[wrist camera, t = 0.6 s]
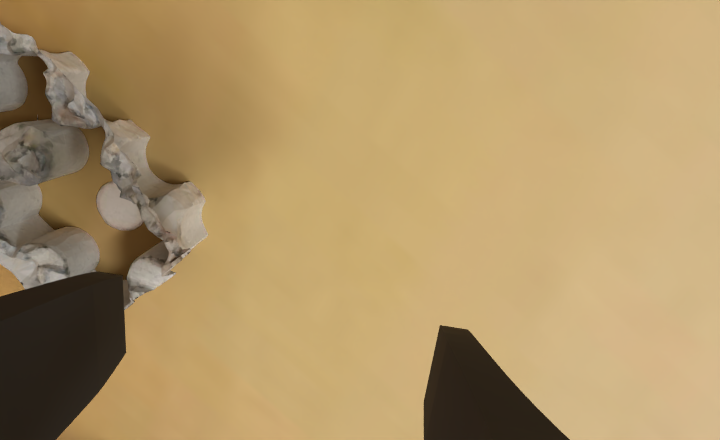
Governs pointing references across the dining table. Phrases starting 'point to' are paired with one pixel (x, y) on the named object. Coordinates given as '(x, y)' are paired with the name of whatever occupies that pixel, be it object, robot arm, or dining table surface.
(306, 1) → the dining table surface
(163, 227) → the egg carton
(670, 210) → the dining table surface
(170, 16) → the dining table surface
